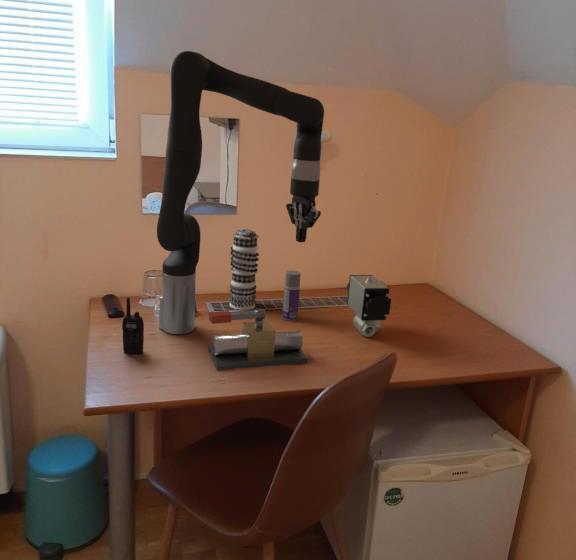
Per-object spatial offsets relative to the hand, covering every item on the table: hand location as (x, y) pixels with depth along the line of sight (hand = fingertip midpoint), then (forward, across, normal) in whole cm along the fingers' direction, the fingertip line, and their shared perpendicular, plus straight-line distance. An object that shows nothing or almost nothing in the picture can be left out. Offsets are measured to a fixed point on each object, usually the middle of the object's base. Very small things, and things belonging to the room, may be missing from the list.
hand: (300, 241), depth 159 cm
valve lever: (+18, +3, -20) cm, 27 cm away
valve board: (+29, +4, -15) cm, 33 cm away
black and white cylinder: (+29, -32, +2) cm, 43 cm away
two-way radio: (+29, -13, -42) cm, 53 cm away
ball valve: (+29, +4, +24) cm, 38 cm away
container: (+29, -15, +10) cm, 34 cm away
